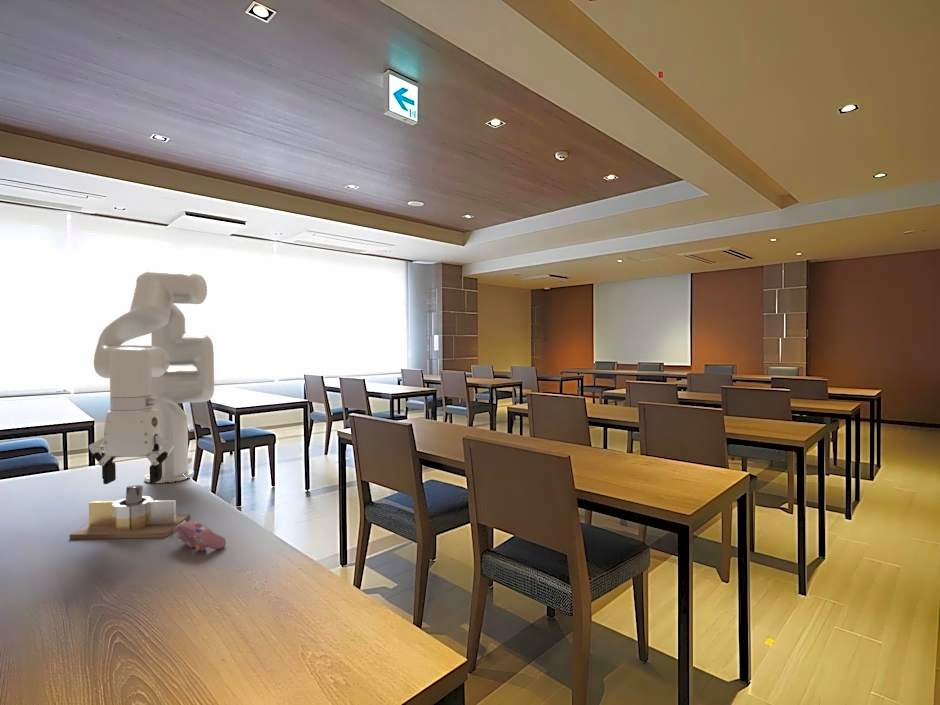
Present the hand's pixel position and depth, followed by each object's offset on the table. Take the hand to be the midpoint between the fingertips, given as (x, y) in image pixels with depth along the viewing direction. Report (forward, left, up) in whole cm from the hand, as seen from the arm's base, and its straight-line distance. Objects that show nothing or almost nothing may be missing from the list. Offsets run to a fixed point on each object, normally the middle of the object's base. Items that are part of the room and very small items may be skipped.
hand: (132, 482), depth 111 cm
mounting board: (0, 0, -10) cm, 10 cm away
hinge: (0, 0, -10) cm, 10 cm away
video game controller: (+11, +19, -11) cm, 24 cm away
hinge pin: (0, 0, -9) cm, 9 cm away
